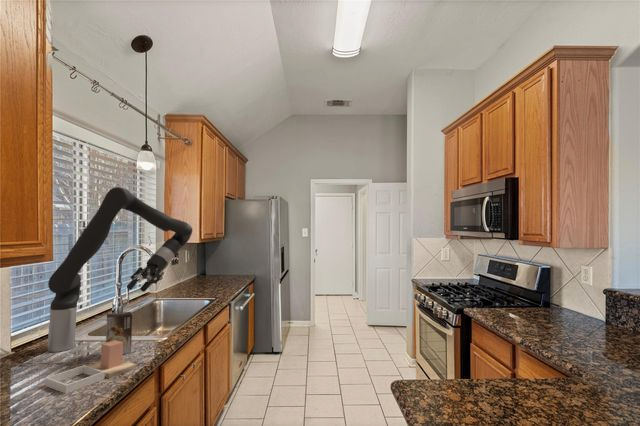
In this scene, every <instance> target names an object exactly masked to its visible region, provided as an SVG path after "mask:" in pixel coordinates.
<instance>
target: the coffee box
mask: <svg viewBox="0 0 640 426" xmlns="http://www.w3.org/2000/svg"><path fill="white" fill-rule="evenodd" d="M132 332H133V313H132V312H131V311H127V312H126V311H125V312H115V313H108V314H106V333H105V343H107V342H110V341H114V340H116V341H120V342H123V355H126V354H127V355H128V354H131V353H132V340H133V337H132V336H133V333H132Z"/></svg>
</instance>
